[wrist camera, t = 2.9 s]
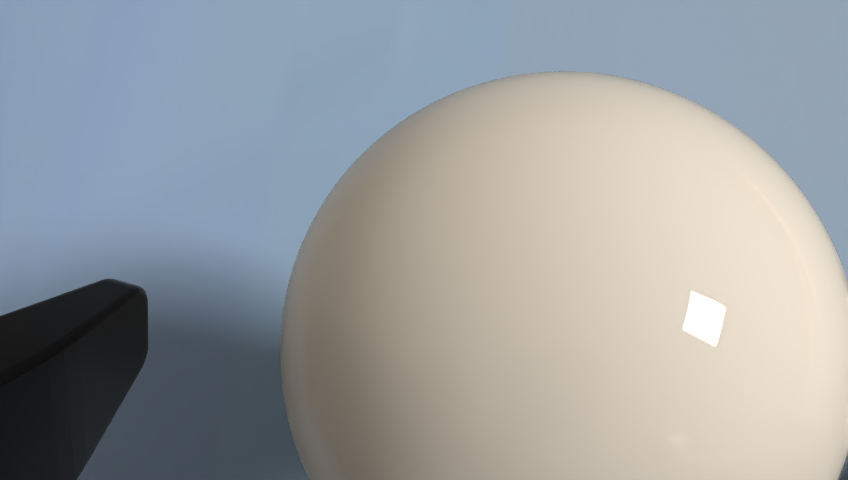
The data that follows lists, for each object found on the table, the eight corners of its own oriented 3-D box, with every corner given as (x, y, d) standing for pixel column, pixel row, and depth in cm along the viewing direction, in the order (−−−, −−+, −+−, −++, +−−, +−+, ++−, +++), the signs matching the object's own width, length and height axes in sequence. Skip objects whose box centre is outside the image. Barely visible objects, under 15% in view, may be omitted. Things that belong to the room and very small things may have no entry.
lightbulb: (321, 306, 18) (121, 82, 7) (590, 211, 18) (787, -141, 7) (417, 602, 16) (348, 890, 5) (711, 490, 16) (1186, 555, 6)
